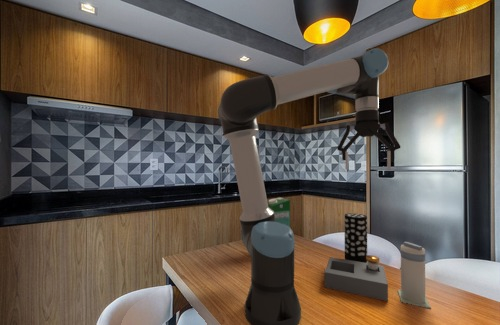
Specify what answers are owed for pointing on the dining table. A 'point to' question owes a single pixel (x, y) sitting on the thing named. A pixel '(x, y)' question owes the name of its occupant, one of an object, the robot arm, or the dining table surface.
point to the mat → (414, 303)
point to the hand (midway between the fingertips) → (367, 169)
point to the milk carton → (280, 210)
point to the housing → (356, 278)
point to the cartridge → (413, 273)
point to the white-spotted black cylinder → (356, 237)
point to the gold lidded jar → (372, 262)
